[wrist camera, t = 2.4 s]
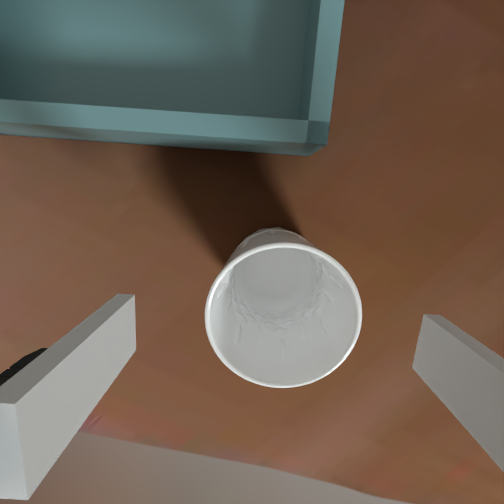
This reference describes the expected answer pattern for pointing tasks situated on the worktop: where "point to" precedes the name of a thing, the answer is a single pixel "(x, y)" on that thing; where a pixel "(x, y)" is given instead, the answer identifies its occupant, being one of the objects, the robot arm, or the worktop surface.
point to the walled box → (171, 72)
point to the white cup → (282, 310)
